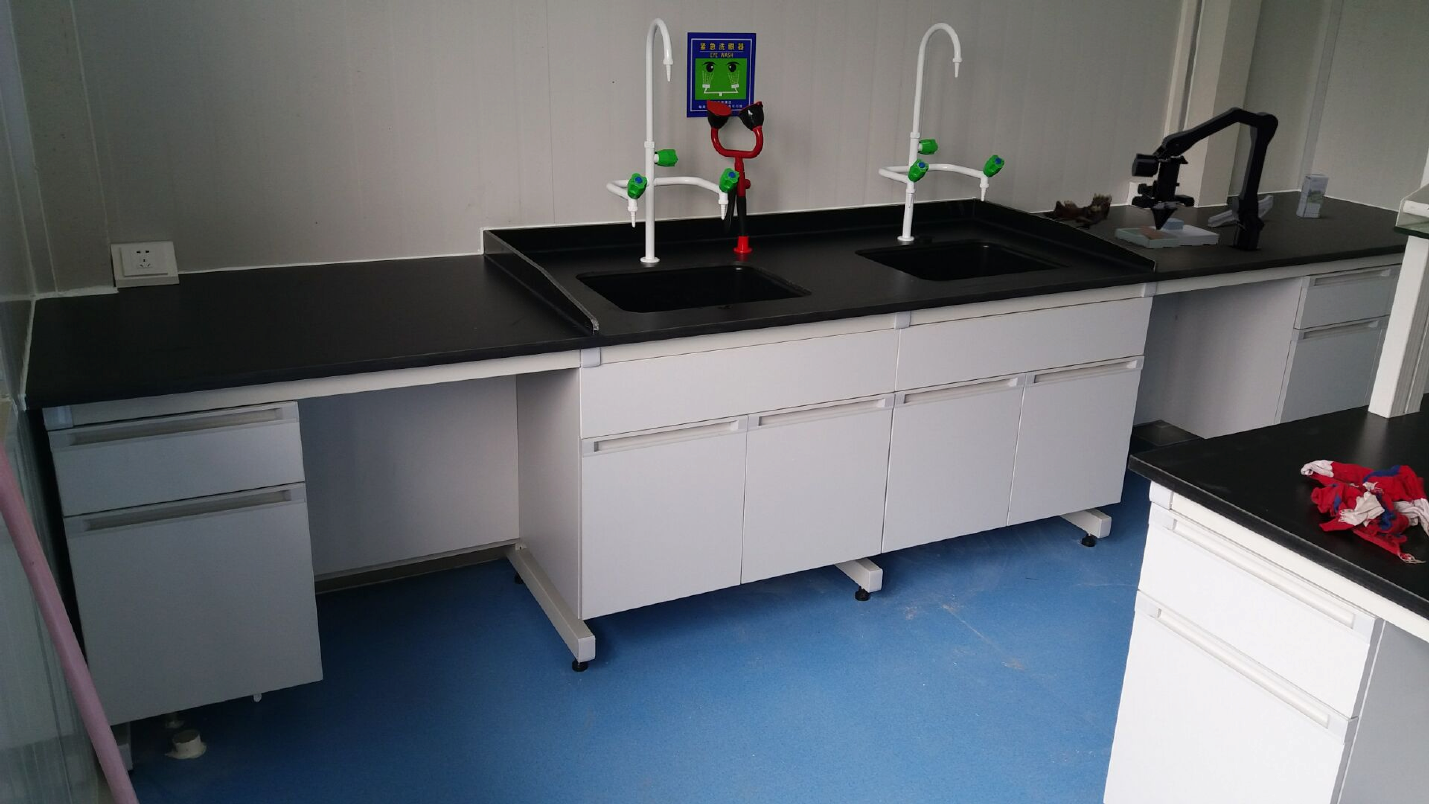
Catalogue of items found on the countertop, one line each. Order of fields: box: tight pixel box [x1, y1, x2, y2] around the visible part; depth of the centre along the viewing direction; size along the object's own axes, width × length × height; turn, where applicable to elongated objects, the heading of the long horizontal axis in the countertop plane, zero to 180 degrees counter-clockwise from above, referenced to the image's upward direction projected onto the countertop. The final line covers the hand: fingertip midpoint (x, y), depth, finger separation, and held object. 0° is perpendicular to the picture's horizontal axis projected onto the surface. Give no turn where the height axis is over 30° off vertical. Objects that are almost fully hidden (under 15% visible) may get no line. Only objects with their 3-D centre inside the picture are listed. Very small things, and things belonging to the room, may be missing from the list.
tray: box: [1114, 227, 1179, 249], centre depth 333 cm, size 16×11×2 cm
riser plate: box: [1149, 224, 1220, 247], centre depth 337 cm, size 14×15×3 cm
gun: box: [1207, 194, 1274, 229], centre depth 361 cm, size 2×30×8 cm, turn 119°
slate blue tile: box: [1162, 217, 1185, 230], centre depth 339 cm, size 5×5×2 cm
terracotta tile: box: [1138, 224, 1164, 240], centre depth 331 cm, size 5×5×2 cm
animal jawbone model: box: [1042, 192, 1113, 229], centre depth 358 cm, size 17×25×10 cm
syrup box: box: [1295, 173, 1330, 219], centre depth 374 cm, size 6×6×14 cm
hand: (1158, 229), depth 331 cm, fingers closed
